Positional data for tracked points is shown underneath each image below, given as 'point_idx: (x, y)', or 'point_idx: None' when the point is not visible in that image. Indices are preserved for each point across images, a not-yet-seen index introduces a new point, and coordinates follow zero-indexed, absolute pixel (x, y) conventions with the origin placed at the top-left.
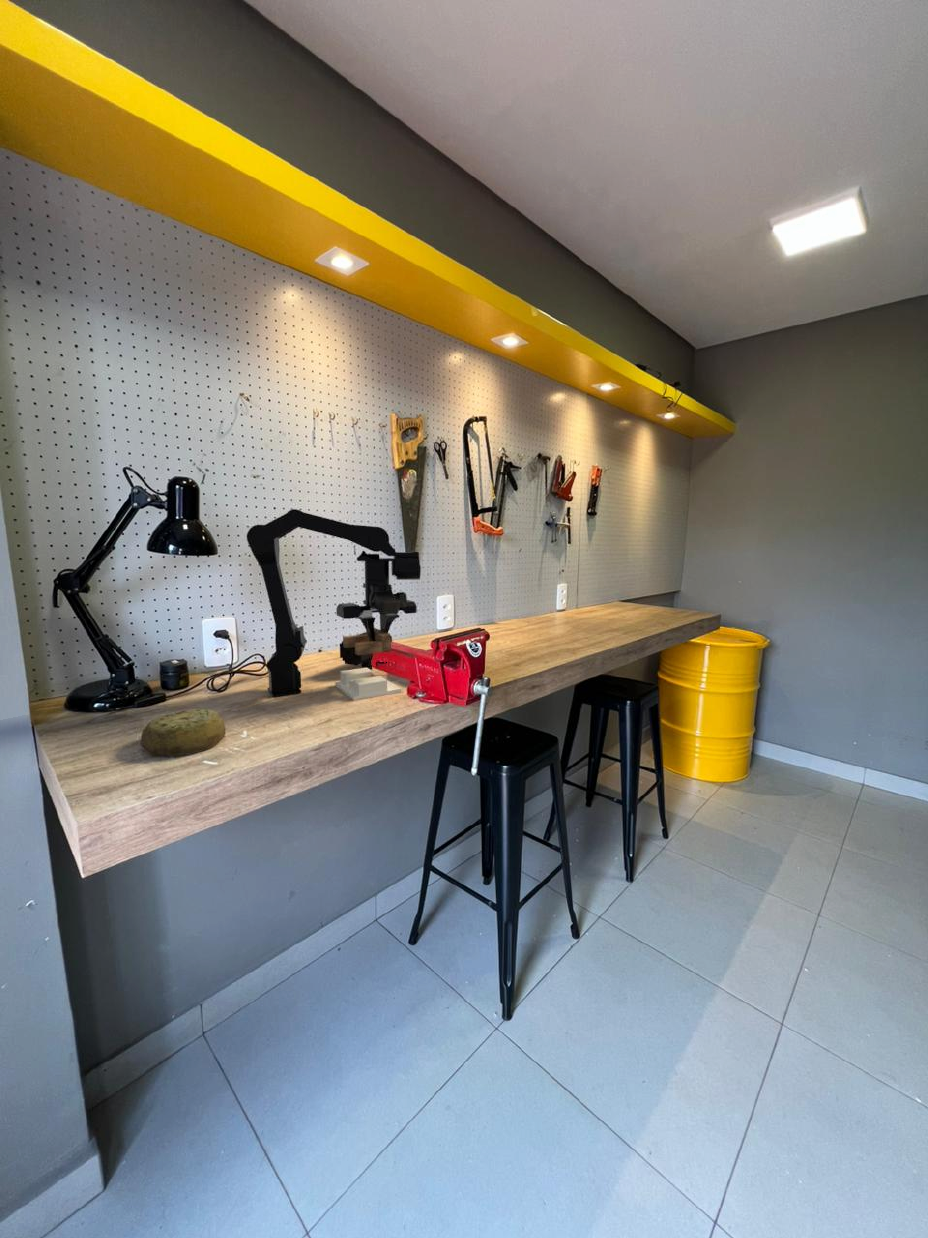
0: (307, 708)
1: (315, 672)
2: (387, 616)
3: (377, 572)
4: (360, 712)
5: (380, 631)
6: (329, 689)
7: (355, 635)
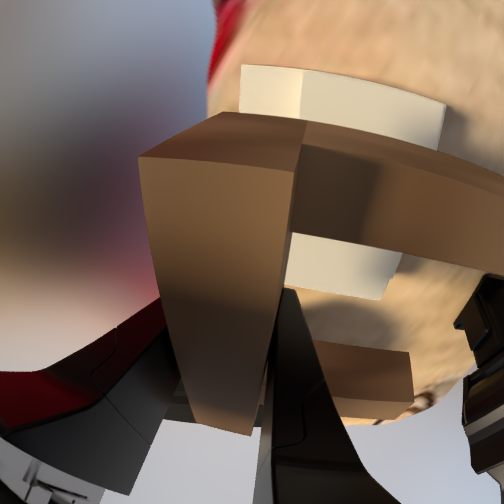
0: None
1: None
2: (47, 458)
3: None
4: (469, 4)
5: (195, 358)
6: None
7: None
